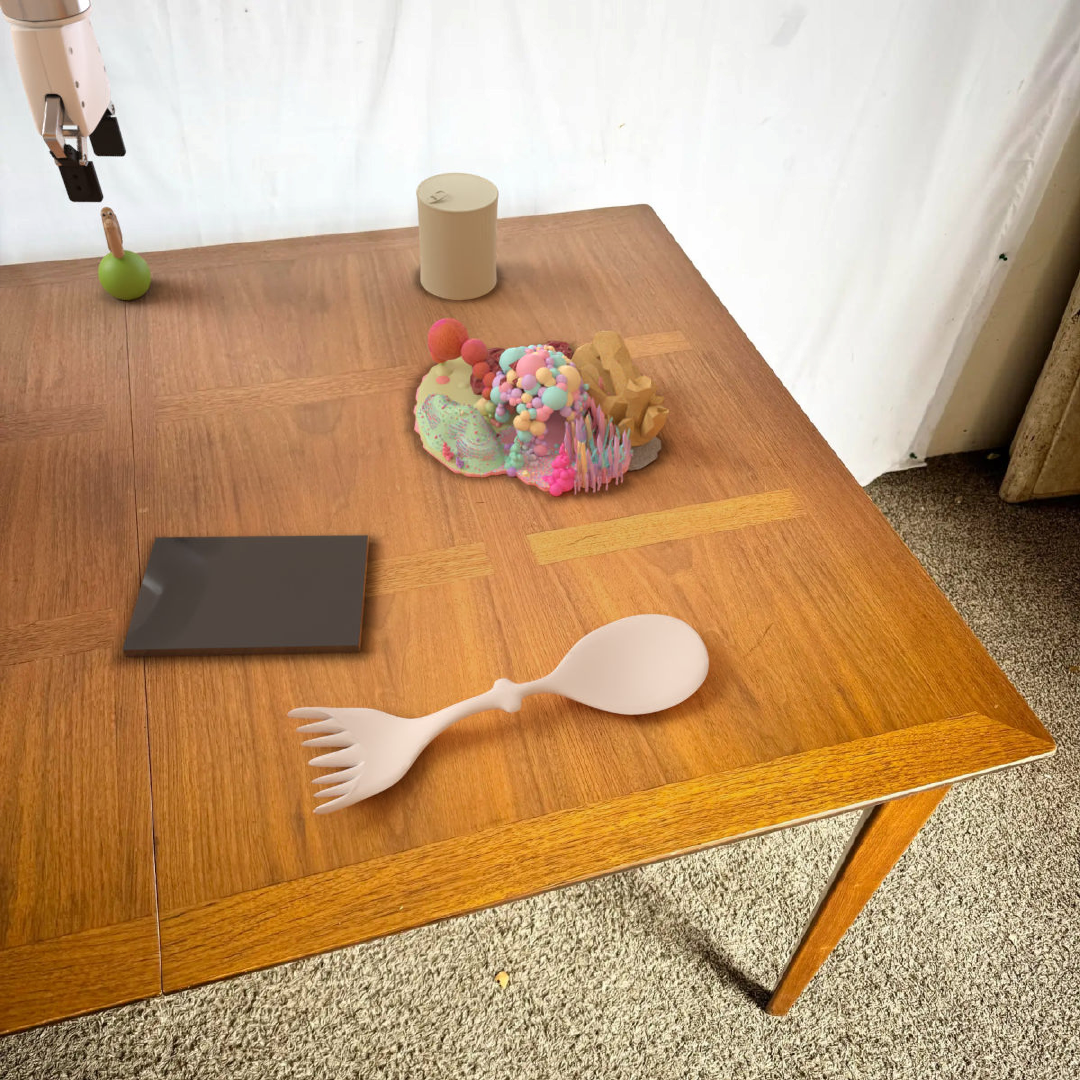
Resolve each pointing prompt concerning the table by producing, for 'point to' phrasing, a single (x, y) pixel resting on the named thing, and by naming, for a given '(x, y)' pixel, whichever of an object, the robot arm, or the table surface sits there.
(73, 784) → the table surface
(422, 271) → the can
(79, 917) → the table surface
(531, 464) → the candy landscape model
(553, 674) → the spoon
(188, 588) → the slate board
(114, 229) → the apple with worm toy
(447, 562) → the table surface
